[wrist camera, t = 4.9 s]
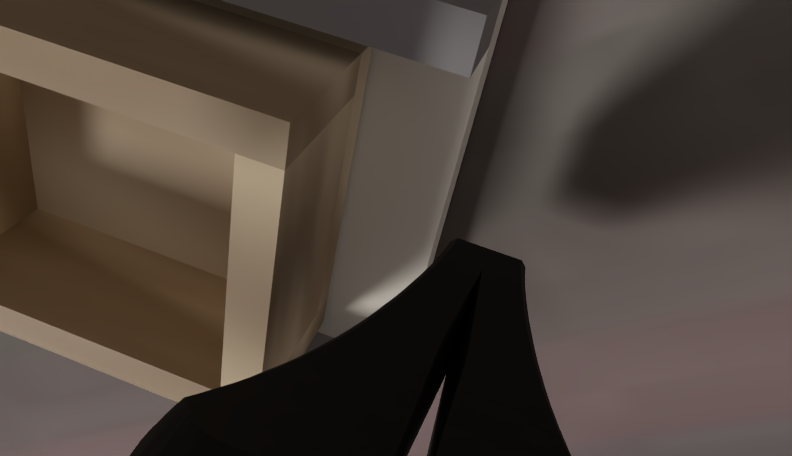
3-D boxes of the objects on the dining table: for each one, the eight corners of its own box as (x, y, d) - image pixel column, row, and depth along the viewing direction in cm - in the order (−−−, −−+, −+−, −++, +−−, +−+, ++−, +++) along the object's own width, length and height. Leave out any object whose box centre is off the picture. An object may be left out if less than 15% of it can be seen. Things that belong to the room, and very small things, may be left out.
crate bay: (404, 362, 18) (349, 490, 15) (-201, 134, 21) (-358, 202, 18) (515, -26, 12) (463, 49, 9) (-349, -276, 15) (-624, -286, 12)
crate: (323, 321, 17) (255, 433, 14) (30, 211, 18) (-88, 295, 15) (372, 41, 13) (290, 122, 10) (-13, -79, 14) (-186, -37, 11)
